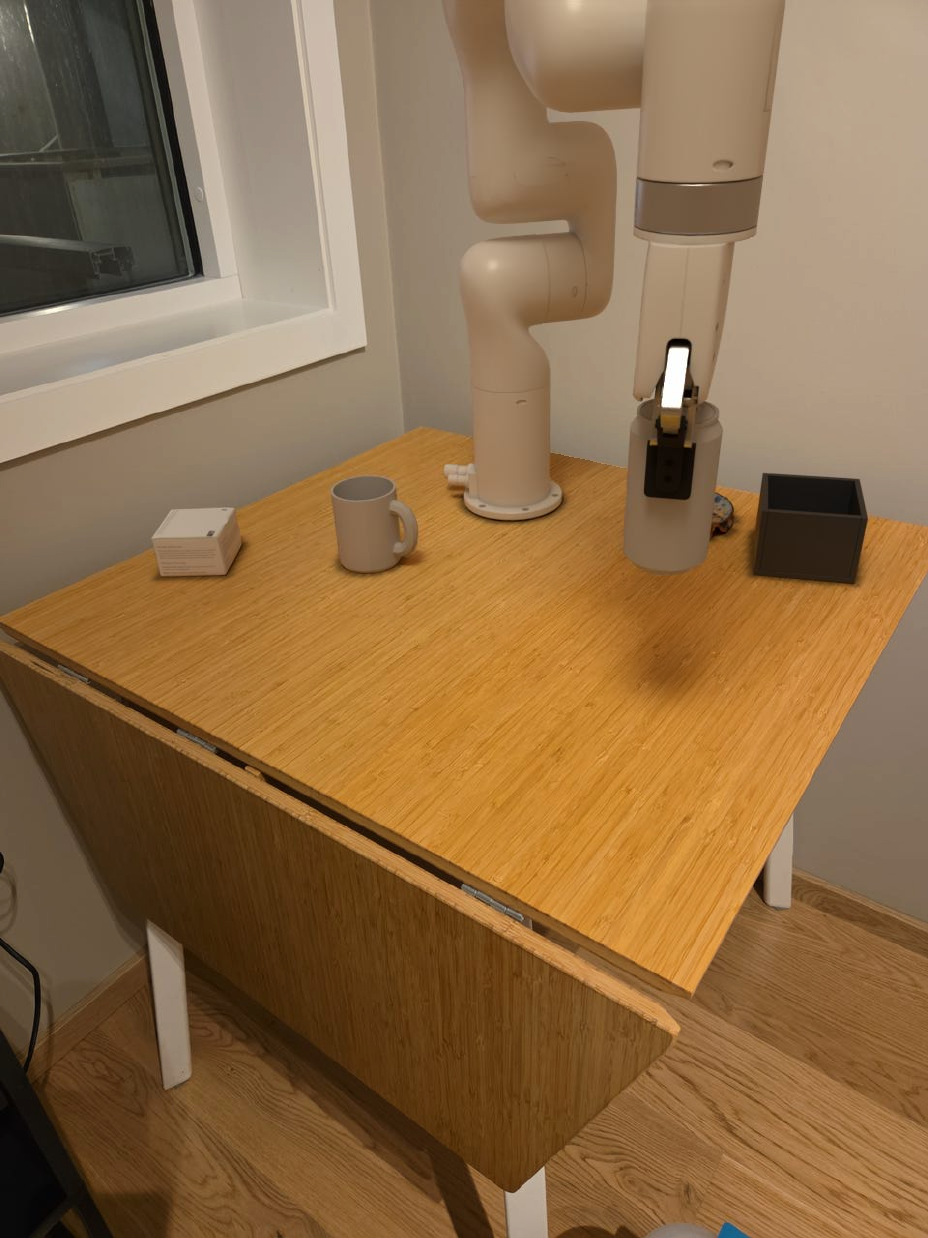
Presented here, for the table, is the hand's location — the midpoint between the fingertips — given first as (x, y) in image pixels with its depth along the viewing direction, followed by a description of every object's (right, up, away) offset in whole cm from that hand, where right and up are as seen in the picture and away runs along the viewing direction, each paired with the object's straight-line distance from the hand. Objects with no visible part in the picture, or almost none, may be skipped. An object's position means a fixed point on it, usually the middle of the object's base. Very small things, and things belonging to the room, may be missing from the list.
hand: (671, 473), depth 66 cm
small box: (-46, -4, +40) cm, 61 cm away
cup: (-24, -4, +38) cm, 46 cm away
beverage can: (0, -6, +4) cm, 7 cm away
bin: (+22, -4, +35) cm, 41 cm away
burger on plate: (+12, +1, +44) cm, 46 cm away
